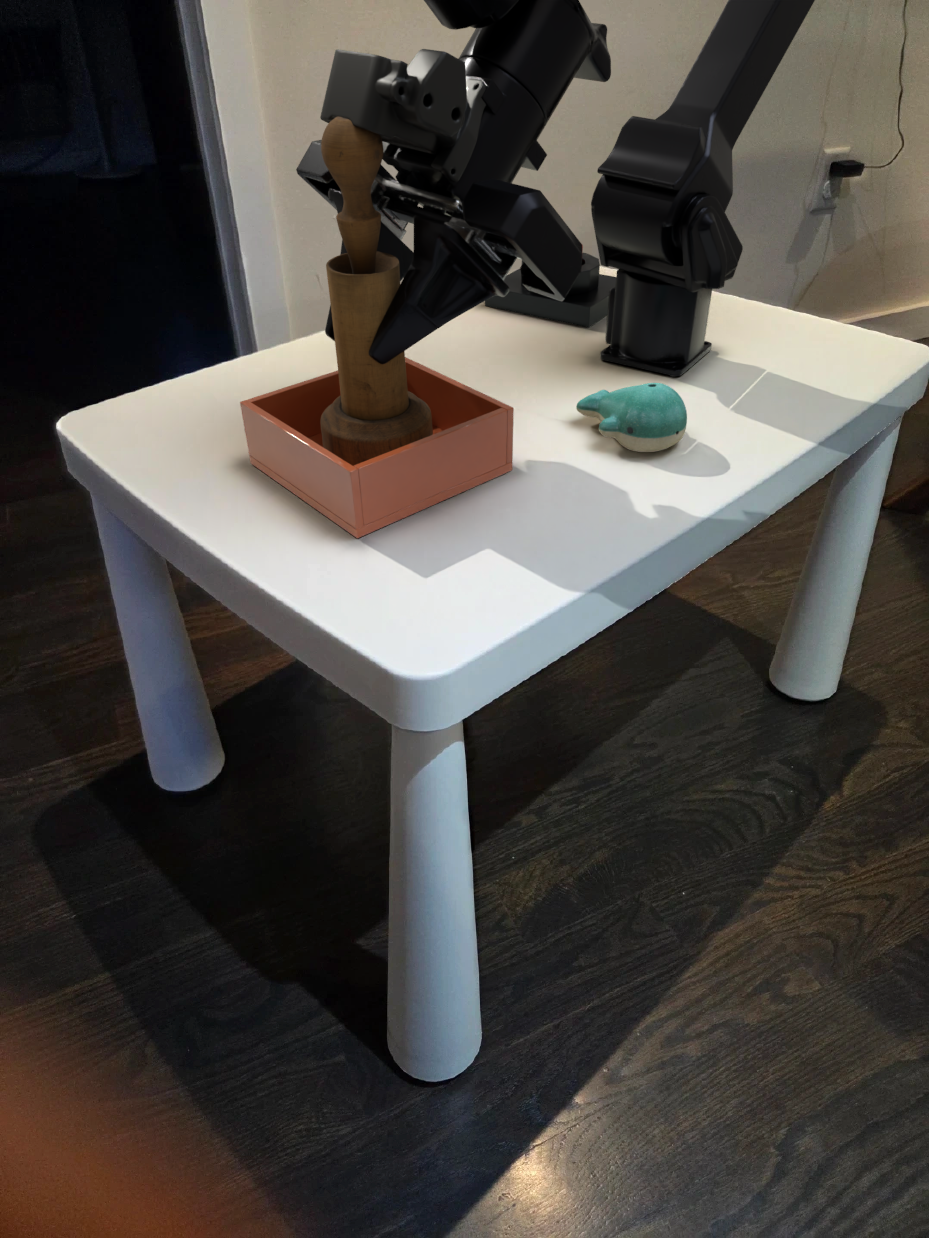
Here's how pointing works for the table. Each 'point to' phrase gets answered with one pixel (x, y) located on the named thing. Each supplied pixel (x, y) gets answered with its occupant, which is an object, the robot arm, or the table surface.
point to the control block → (578, 306)
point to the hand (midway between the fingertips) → (352, 349)
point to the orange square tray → (392, 482)
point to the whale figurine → (638, 416)
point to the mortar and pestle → (364, 313)
